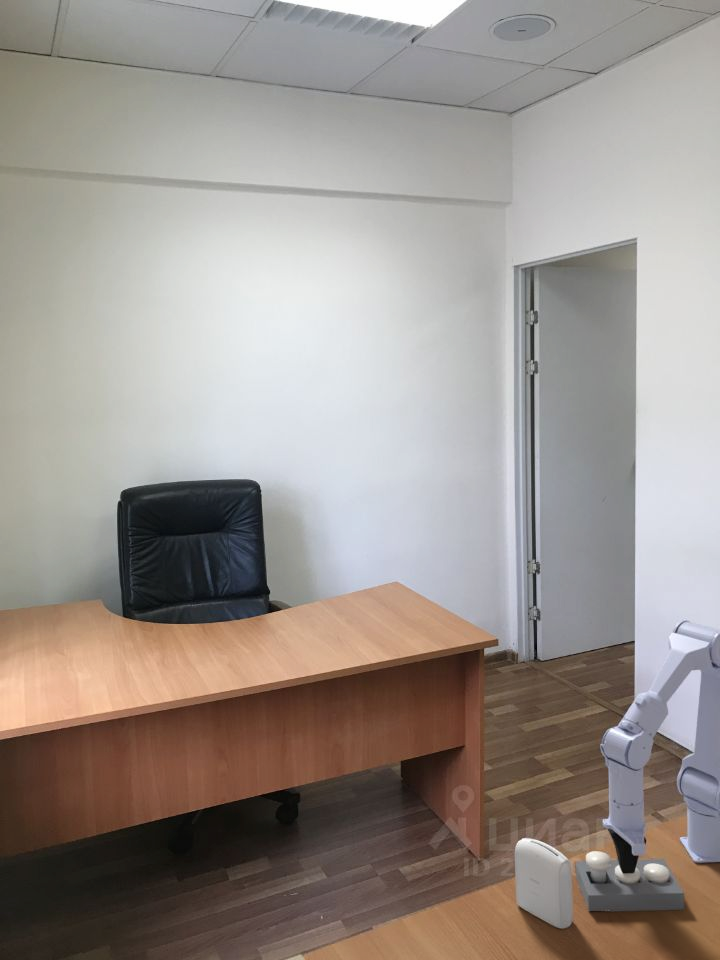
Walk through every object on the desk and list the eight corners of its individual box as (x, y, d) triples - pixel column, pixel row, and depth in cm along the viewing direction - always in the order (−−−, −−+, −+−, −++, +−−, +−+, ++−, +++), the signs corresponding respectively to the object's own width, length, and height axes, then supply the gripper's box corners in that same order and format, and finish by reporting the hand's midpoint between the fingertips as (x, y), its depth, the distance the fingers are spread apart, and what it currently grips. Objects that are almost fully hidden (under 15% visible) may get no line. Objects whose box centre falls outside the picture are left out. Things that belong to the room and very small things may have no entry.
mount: (664, 874, 147) (664, 858, 147) (684, 909, 138) (684, 893, 137) (575, 876, 148) (574, 861, 148) (588, 912, 138) (588, 895, 138)
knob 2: (664, 883, 145) (664, 863, 144) (672, 898, 140) (672, 877, 140) (640, 884, 145) (640, 863, 144) (648, 899, 141) (647, 877, 140)
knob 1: (607, 871, 145) (607, 850, 144) (614, 885, 141) (613, 864, 140) (583, 872, 145) (583, 851, 144) (589, 886, 141) (589, 865, 140)
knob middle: (636, 884, 145) (635, 863, 144) (643, 899, 141) (643, 878, 140) (612, 885, 145) (611, 864, 145) (618, 899, 141) (618, 878, 140)
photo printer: (512, 905, 141) (510, 837, 140) (528, 894, 144) (526, 828, 142) (561, 933, 133) (559, 862, 132) (577, 922, 136) (575, 852, 134)
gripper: (592, 778, 148) (593, 848, 150) (614, 820, 134) (615, 897, 135) (631, 776, 148) (632, 847, 149) (657, 818, 134) (658, 896, 135)
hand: (627, 871), depth 142 cm, fingers closed
